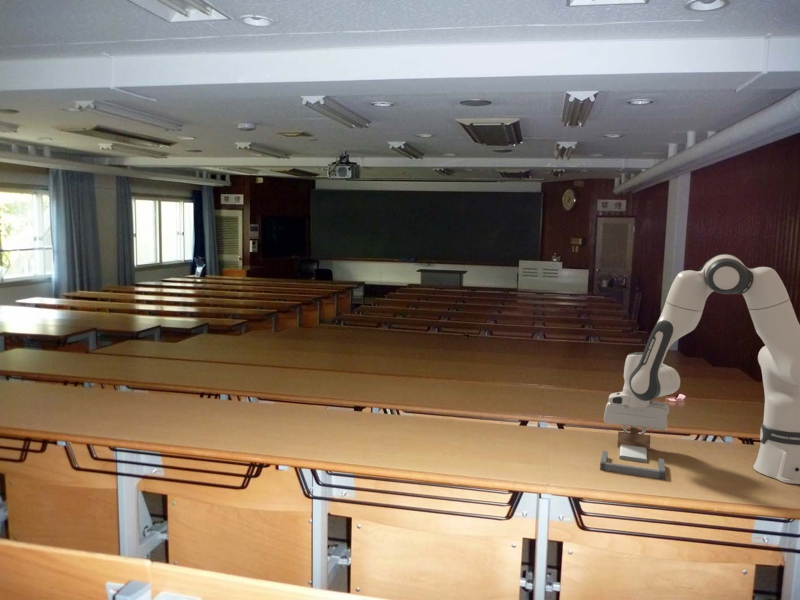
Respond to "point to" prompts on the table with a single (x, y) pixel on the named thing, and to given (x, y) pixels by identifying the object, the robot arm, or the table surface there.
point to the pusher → (634, 438)
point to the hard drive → (633, 453)
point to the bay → (633, 468)
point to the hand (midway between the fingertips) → (633, 438)
